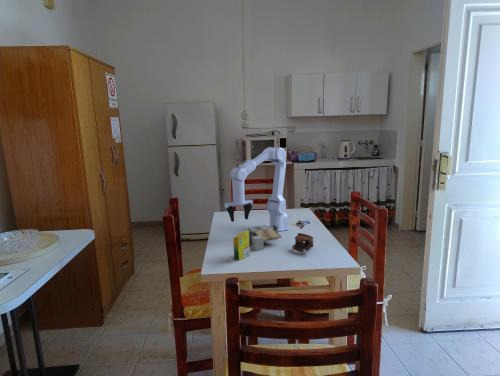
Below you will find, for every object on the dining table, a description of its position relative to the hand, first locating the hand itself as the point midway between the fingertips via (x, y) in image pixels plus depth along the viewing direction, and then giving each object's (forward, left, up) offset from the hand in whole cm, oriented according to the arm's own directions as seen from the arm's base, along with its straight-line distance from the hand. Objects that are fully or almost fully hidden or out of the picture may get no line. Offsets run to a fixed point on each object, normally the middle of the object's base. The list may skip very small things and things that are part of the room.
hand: (239, 220), depth 163 cm
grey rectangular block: (-2, +15, -5) cm, 16 cm away
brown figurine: (-17, +28, -12) cm, 35 cm away
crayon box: (+9, +20, -11) cm, 24 cm away
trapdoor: (-9, +7, -5) cm, 12 cm away
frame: (-9, +7, -10) cm, 15 cm away
